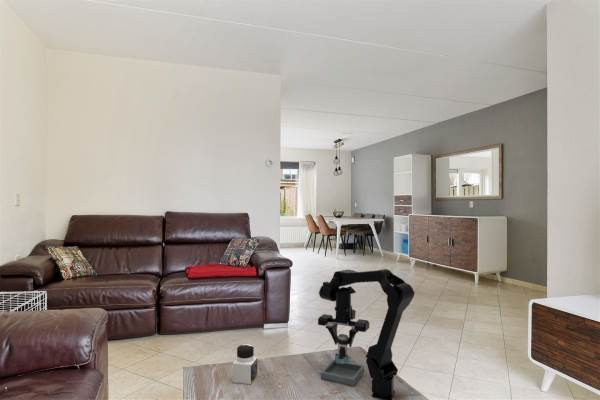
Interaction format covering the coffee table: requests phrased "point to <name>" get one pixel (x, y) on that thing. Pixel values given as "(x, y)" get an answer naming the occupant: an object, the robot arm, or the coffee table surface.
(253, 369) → the medicine bottle
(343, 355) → the push button
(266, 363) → the coffee table surface
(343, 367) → the charcoal tray
